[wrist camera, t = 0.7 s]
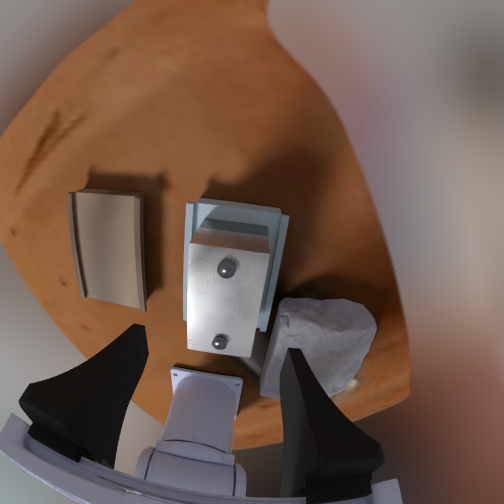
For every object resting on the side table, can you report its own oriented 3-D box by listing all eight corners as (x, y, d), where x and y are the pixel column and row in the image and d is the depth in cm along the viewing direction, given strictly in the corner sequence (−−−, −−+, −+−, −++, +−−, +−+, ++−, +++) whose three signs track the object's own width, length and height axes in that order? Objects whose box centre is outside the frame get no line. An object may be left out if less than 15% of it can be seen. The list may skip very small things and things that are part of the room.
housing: (252, 317, 22) (250, 360, 18) (199, 310, 22) (186, 351, 18) (267, 226, 19) (269, 256, 14) (205, 217, 19) (187, 245, 14)
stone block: (368, 289, 25) (270, 290, 23) (393, 320, 21) (285, 329, 19) (332, 368, 30) (252, 376, 28) (346, 398, 26) (260, 412, 24)
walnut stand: (149, 192, 20) (139, 198, 18) (152, 300, 24) (145, 312, 22) (79, 187, 19) (67, 193, 18) (90, 287, 23) (81, 297, 22)
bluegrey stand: (287, 209, 20) (289, 216, 18) (265, 318, 24) (265, 331, 22) (192, 197, 20) (186, 203, 18) (188, 307, 24) (183, 320, 22)
